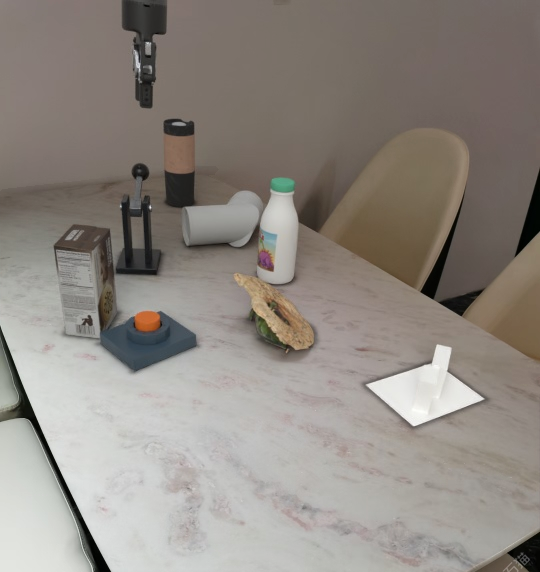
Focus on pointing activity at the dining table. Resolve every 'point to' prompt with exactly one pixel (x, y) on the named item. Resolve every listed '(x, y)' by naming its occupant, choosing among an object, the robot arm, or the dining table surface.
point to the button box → (147, 342)
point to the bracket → (135, 257)
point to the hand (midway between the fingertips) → (143, 104)
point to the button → (147, 321)
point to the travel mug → (179, 162)
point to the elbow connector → (223, 221)
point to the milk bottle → (278, 234)
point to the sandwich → (276, 315)
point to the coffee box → (86, 280)
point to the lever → (138, 189)
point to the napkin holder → (425, 390)
